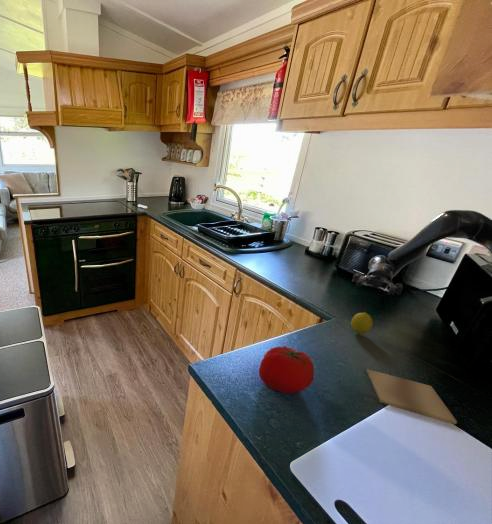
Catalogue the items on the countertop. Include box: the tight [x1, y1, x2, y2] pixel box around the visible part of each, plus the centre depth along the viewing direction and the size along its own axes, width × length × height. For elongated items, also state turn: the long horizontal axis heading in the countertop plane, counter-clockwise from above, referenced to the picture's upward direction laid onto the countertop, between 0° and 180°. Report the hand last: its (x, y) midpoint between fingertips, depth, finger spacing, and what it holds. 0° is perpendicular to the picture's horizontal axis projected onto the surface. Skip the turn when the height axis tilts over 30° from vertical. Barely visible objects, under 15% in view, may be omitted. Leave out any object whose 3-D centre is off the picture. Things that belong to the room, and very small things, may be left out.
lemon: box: [350, 312, 374, 335], centre depth 96 cm, size 6×6×8 cm
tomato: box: [258, 344, 315, 394], centre depth 71 cm, size 11×13×10 cm
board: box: [365, 368, 458, 425], centre depth 72 cm, size 14×12×1 cm
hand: (374, 288), depth 101 cm, fingers open, 8 cm apart
